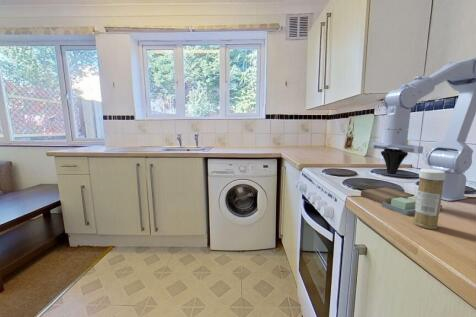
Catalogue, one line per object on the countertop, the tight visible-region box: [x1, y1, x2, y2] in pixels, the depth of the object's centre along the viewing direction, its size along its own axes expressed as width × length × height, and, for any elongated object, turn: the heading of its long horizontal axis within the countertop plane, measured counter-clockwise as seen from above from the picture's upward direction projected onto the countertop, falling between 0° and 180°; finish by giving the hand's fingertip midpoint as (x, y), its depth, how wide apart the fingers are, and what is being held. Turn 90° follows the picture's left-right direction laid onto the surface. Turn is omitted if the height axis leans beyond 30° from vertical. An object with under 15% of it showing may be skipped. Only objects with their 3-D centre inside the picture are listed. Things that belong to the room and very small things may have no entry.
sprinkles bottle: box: [413, 168, 446, 230], centre depth 53 cm, size 5×5×13 cm
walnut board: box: [360, 186, 415, 205], centre depth 73 cm, size 12×9×2 cm
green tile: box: [391, 197, 416, 210], centre depth 65 cm, size 4×4×2 cm
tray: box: [381, 202, 443, 216], centre depth 65 cm, size 14×7×1 cm, turn 109°
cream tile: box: [408, 195, 417, 206], centre depth 66 cm, size 4×4×2 cm
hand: (391, 173), depth 70 cm, fingers closed
